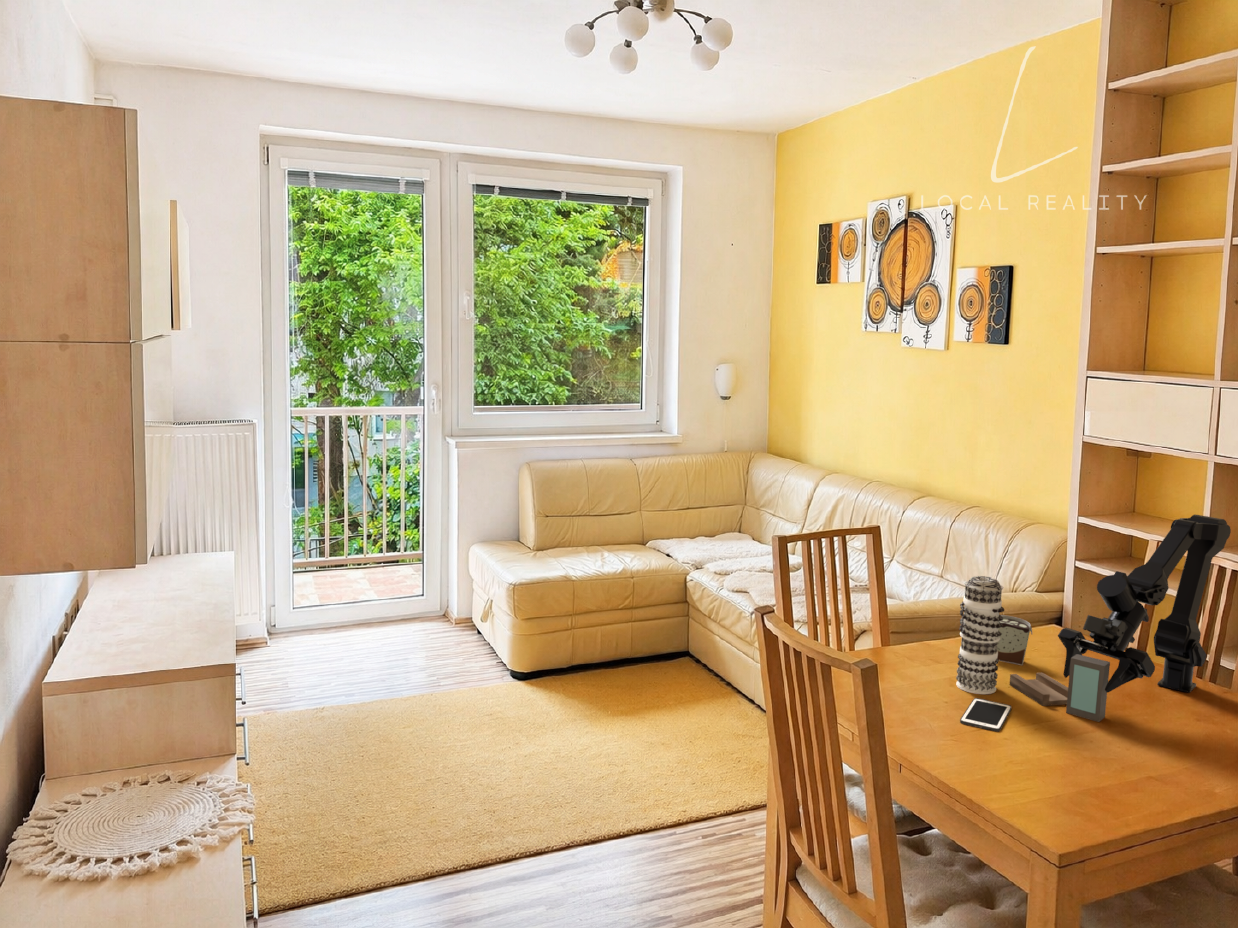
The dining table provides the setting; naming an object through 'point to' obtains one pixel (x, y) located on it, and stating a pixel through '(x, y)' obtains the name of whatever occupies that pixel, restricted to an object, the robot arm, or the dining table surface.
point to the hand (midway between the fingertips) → (1085, 683)
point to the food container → (1013, 639)
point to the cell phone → (986, 714)
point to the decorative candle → (979, 635)
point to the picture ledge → (1041, 689)
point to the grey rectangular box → (1087, 687)
